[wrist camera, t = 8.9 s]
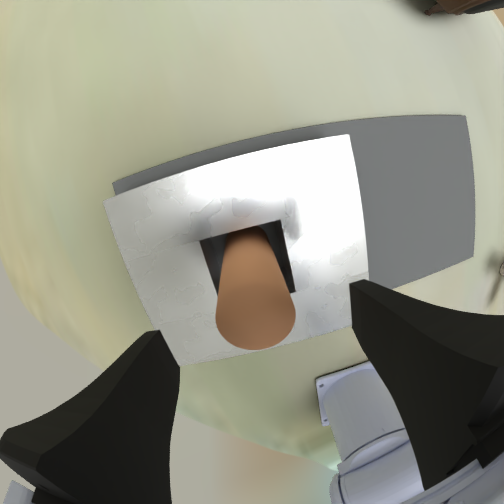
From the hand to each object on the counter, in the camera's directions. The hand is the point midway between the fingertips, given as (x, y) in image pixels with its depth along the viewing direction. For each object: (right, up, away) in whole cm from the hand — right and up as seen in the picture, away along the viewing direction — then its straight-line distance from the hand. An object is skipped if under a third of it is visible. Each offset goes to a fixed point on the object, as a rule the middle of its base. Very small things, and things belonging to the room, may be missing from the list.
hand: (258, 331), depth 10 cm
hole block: (-1, +3, +9) cm, 10 cm away
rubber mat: (+6, +5, +10) cm, 13 cm away
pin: (-1, +3, +9) cm, 10 cm away
